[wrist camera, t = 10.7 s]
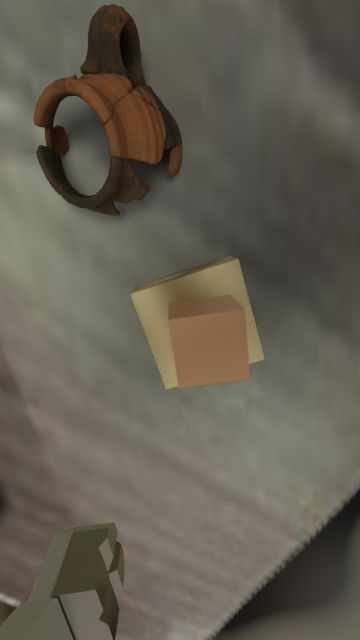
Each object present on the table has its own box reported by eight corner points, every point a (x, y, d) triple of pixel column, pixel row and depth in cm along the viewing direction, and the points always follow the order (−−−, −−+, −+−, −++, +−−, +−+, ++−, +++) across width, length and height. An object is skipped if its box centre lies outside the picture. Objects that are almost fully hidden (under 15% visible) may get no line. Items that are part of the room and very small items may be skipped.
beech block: (228, 255, 27) (238, 258, 23) (252, 343, 29) (264, 359, 26) (135, 286, 27) (130, 294, 24) (166, 369, 30) (166, 389, 26)
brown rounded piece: (188, 210, 26) (136, 229, 20) (102, 198, 29) (33, 211, 23) (198, 23, 20) (127, -40, 13) (88, 35, 23) (-11, -9, 17)
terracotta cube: (229, 294, 24) (244, 309, 19) (235, 351, 25) (250, 378, 20) (168, 303, 24) (168, 319, 19) (177, 359, 25) (178, 388, 20)
